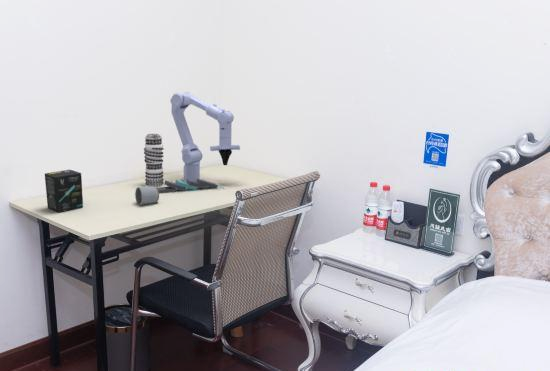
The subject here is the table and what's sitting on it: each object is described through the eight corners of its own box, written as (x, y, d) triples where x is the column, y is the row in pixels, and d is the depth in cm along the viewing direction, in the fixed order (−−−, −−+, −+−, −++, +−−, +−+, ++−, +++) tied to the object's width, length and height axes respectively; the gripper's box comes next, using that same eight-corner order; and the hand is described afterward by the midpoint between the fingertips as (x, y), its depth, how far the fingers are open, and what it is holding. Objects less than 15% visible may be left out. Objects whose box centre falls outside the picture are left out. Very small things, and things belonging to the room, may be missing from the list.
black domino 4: (216, 188, 248) (199, 184, 244) (213, 186, 252) (196, 181, 248) (217, 185, 248) (200, 180, 244) (214, 183, 252) (197, 178, 248)
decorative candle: (166, 184, 255) (166, 133, 249) (161, 189, 246) (159, 136, 240) (148, 183, 255) (147, 132, 249) (142, 187, 246) (140, 135, 240)
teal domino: (196, 190, 244) (177, 185, 239) (192, 187, 248) (175, 183, 244) (197, 187, 243) (179, 182, 239) (194, 184, 248) (176, 179, 244)
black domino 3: (206, 189, 246) (189, 184, 242) (203, 186, 250) (186, 182, 246) (207, 186, 246) (190, 181, 241) (204, 183, 250) (187, 179, 246)
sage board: (167, 189, 244) (167, 189, 244) (220, 185, 256) (220, 184, 256) (172, 194, 237) (172, 193, 237) (226, 189, 249) (226, 188, 249)
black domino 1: (176, 191, 240) (156, 194, 236) (173, 189, 244) (153, 191, 240) (175, 188, 239) (156, 190, 235) (172, 186, 243) (153, 188, 240)
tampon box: (71, 203, 218) (69, 168, 215) (84, 207, 213) (82, 172, 209) (46, 208, 210) (43, 172, 207) (58, 213, 204) (55, 176, 201)
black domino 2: (184, 191, 241) (166, 185, 237) (181, 188, 246) (164, 183, 241) (186, 188, 241) (168, 182, 237) (183, 185, 246) (165, 180, 241)
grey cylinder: (160, 204, 221) (159, 186, 219) (142, 207, 216) (141, 189, 214) (150, 199, 229) (149, 182, 227) (132, 201, 224) (131, 184, 222)
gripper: (213, 138, 243) (213, 167, 247) (242, 137, 250) (242, 165, 253) (208, 136, 249) (208, 164, 253) (237, 135, 256) (236, 162, 259)
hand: (225, 164), depth 253 cm, fingers closed
